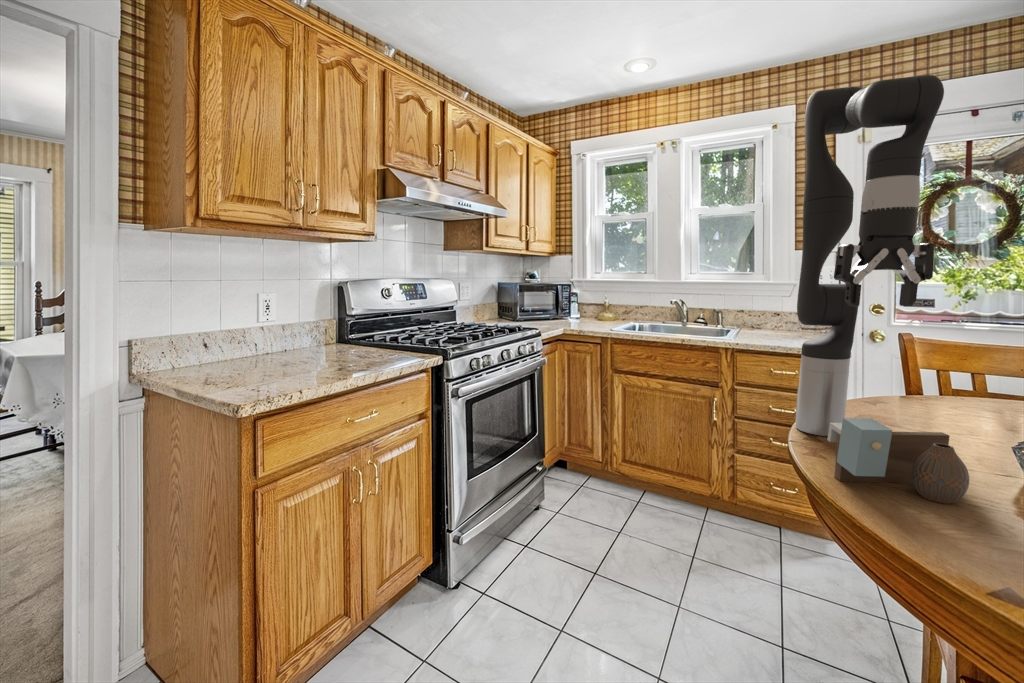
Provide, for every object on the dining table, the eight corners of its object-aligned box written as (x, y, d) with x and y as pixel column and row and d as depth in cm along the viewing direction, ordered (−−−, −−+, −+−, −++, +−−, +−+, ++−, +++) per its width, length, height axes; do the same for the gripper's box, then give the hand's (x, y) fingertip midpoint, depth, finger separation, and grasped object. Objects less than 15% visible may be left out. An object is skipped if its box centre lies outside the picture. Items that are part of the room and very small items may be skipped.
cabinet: (825, 453, 86) (831, 410, 85) (852, 453, 86) (858, 411, 84) (857, 478, 77) (865, 431, 76) (888, 479, 77) (896, 432, 75)
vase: (909, 499, 76) (915, 446, 75) (908, 484, 82) (914, 435, 81) (968, 512, 72) (976, 456, 71) (963, 496, 78) (970, 443, 76)
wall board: (834, 477, 85) (838, 430, 84) (936, 479, 84) (941, 432, 83) (839, 481, 83) (844, 433, 82) (943, 483, 82) (949, 435, 81)
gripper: (917, 210, 82) (907, 304, 85) (830, 211, 83) (822, 305, 86) (953, 203, 75) (941, 307, 77) (858, 205, 76) (849, 308, 78)
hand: (879, 306), depth 82 cm, fingers open, 8 cm apart
